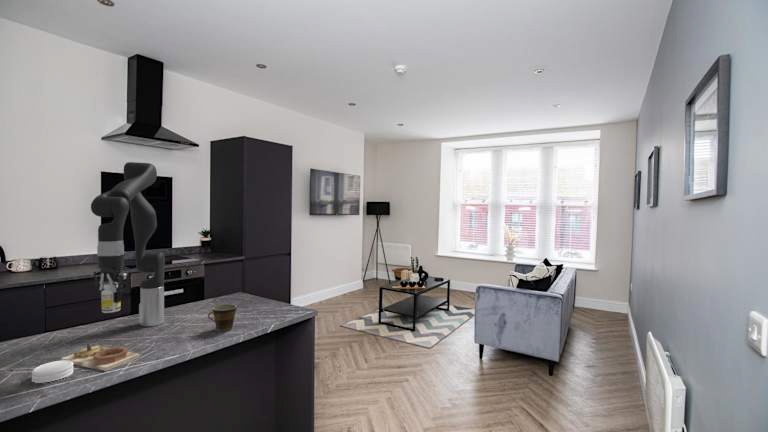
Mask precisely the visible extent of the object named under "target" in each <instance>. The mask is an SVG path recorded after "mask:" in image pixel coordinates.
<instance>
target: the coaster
mask: <svg viewBox="0 0 768 432" xmlns="http://www.w3.org/2000/svg"><path fill="white" fill-rule="evenodd" d="M73 373H74V364H73V362H72V361H69V360H61V359H60V360H57V361H50V362H45V363H44V364H41V365H38V366H37V367H35V368H33V369H32V371H31V382H32V383H33V382H35V383H34V384H36V383H42V382H50V381H55V380H58V381H60V380H59V379H61V380H63V379H62V378H64V379H65V377H66V378H68V377H70V376H72V375H73ZM55 382H56V381H55ZM50 383H51V382H50Z"/></svg>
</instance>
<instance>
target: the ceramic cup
mask: <svg viewBox="0 0 768 432" xmlns="http://www.w3.org/2000/svg"><path fill="white" fill-rule="evenodd" d="M211 309H212V311H210V312H209V313H208V314H207V317H208V319H209V320H211V321H212V322H214V324H215V331H217V332H221V333H222V332H229V331H232V330H233V328H234V322H235V319H236V318H235V317H236V313H237V309H238V306H237V305H236V304H232V303H226V304H225V303H224V304H218V305H216V306H213V307H212V308H211ZM211 314H212V315H213V318H211V317H210V316H211Z"/></svg>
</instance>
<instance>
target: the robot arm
mask: <svg viewBox="0 0 768 432" xmlns="http://www.w3.org/2000/svg"><path fill="white" fill-rule="evenodd" d="M157 177H158V172H157V168H156V166H155V165H154V164H152V163H148V162H132V161H131V162H126V163H124V166H123V179H124V181H121V182H119V183H118V184H116V185H115V186H113V187H112V188H111V190H108V191H106V192H103V193H101V194H99V195H98V196H96V197H95V198H93V200H92V201H91V204H90V210H91V212H92V213H93V215H94V216H97V217H101V218H111V217H112V218H113V220H112V221H111V222H108V223H103V224H100V225H99V226H98V227H97V247H96V248H97V249H96V251H97V252H96V253H97V254H96V255H97V259H96V262H97V266H96V267H97V268H98V269H100V270H97V271H94V272H93V277H94V278H93V279H94V284H95V288H96V289H99V291H100V293H101V292H102V291H103V290H105V289H104V284H105V283H110V285H111V286H112V287H113V290H114V292H113V295H114V303H118V302H121V303H122V293H123V291H125V290H127V288H128V283H129V281H128V280H129V275H130V274H129V273H127V272H126V273H124V272H123V271H122V267H124V266H125V244H124V228H125V227H124V226H125V223H126V219H127V216H128V214H129V210H130V219H131V226H132V231H133V233H132V234H133V239H134V248H135V250H134V253H135V254H134V256H135V266H136V270H137V272H139V273H154V275H153V276H151V277H149V278H147V279H144V280H141V282H140V286H139V287H140V294H139V295H140V303H139V304H138V325H140V326H141V327H155V326H160V325H162V324H163V323H165V267H166V266H165V265H166V257H165V254H164V252H162V251H149V252H146V251H147V250H146V246H147V243H148V242H149V240H150V239H151V237H152V236H153V234H154V233H155V231H156V230H157V227H158V221H157V214H156V213H157V212H156V210H155V209H154V207H153V205H152V204H150V203H149V202H148V200H147V199H146V198H145V197H144V196H143V194H142V191H143V190H145V189H147V188H148V187H150V186H152V185H153V184H154V183H155V182H156V181H157ZM115 282H117V283H115ZM116 285H118V287H116Z"/></svg>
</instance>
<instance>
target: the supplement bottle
mask: <svg viewBox="0 0 768 432" xmlns="http://www.w3.org/2000/svg"><path fill="white" fill-rule="evenodd" d="M115 283H118V281H117V282H115ZM116 287H117V288H118V285H116ZM104 289H105V290H103V291H102V292H101V291H100V302H101V312H102V313H104V314H109V313H110V314H111V313H115V312H120V311H121V308H122V305H121V304H122V301H121V302H118V303H114V295H113V292H114V290H113V287H112V286H111V285H110V283H105V284H104Z"/></svg>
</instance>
